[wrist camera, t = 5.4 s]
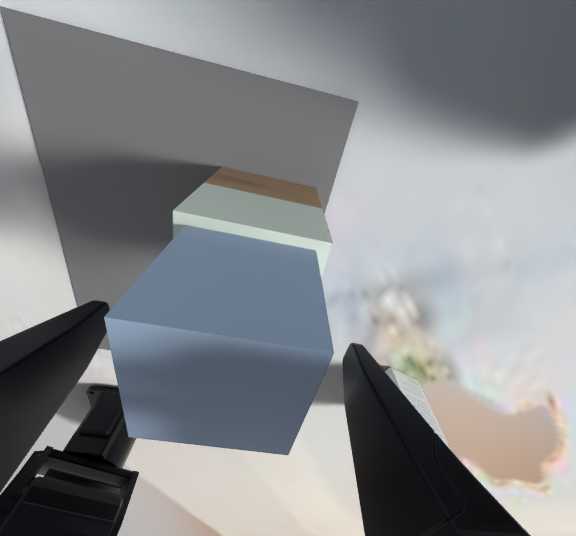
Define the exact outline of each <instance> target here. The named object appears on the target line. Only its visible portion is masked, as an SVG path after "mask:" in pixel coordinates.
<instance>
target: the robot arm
mask: <svg viewBox="0 0 576 536" xmlns="http://www.w3.org/2000/svg"><path fill="white" fill-rule="evenodd" d="M109 311H110V309H109V304H108V303H107V302H103V301H97V300H93V301H90V302H88V303H86V304H83V305H81V306H79V307H77V308H74V309H72V310H70V311H68V312H65V313H63V314H61V315H58V316H56V317H54V318H52V319H49V320H47V321H45V322H43V323H40V324H38V325H36V326H34V327H31V328H29V329H27V330H25V331H22V332H20V333H18V334H15V335H13V336H11V337H9V338H6V339H4V340H2V341H0V492H1V491H2V489H3V488H4V486H5V485H6V484H7V482H8V481H9V479H10V478H11V476H12V475H13V473H14V472H15V471H16V469H17V468H18V466H19V465H20V463H21V462H22V461H23V459H24V458H25V456H26V455H27V453H28V452H29V451H30V449H31V448H32V446H33V445H34V443H35V442H36V441H37V439H38V438H39V436H40V435H41V433H42V432H43V431H44V429H45V428H46V426H47V425H48V423H49V422H50V420H51V419H52V418H53V416H54V415H55V413H56V412H57V411H58V409H59V408H60V406H61V405H62V403H63V402H64V401H65V399H66V398H67V396H68V395H69V393H70V392H71V390H72V389H73V388H74V386H75V385H76V383H77V382H78V380H79V379H80V378H81V376H82V375H83V373H84V372H85V370H86V369H87V367H88V365H89V364H90V362H91V360H92V358H93V357H94V355H95V353H96V351H97V349H98V348H99V346H100V344H101V342H102V340H103V338H104V337H105V335H106V333H107V329H106V324H105V319H104V317H105V315H106V314H107V313H108V312H109ZM343 383H344V402H345V411H346V417H347V423H348V430H349V436H350V443H351V449H352V455H353V462H354V468H355V475H356V481H357V487H358V494H359V500H360V506H361V513H362V519H363V526H364V532H365V536H531V535H529V534H528V532H527V531H526V530H525V529H524V528H523V527H522V526H521V525H520V524H519V523H518V522H517V521H516V520H515V519H514V518H513V517H512V516H511V515H510V514H509V513H508V512H507V511H506V510H505V508H504V507H503V506H502V505H501V504H500V503H499V502H498V501H497V500H496V499H495V498H494V497H493V496H492V495H491V494H490V493H489V492H488V490H487V489H486V488H485V487H484V486H483V485H482V484H481V483H480V482H479V481H478V480H477V479H476V478H475V477H474V475H473V474H472V473H471V472H470V471H469V470H468V469H467V468H466V467H465V466H464V465H463V464H462V462H461V461H460V460H459V459H458V458H457V457H456V456H455V454H454V453H453V452H452V451H451V450H450V449H449V447H448V446H447V445H446V444H445V443H444V442H443V440H442V439H441V438H440V437H439V436H438V434H437V433H435V432H434V430H433V429H432V427H431V426H430V425H429V424H428V423H427V421H426V420H425V419H424V418H423V417H422V415H421V414H420V413H419V412H418V411H417V409H416V408H415V407H414V406H413V405H412V403H411V402H410V401H409V400H408V399H407V397H406V396H405V395H404V394H403V393H402V391H401V390H400V389H399V388H398V387H397V385H396V384H395V383H394V382H393V381H392V379H391V378H390V377H389V376H388V375H387V373H386V372H385V371H384V370H383V369H382V367H381V366H380V365H379V364H378V363H377V362H376V360H375V359H374V358H373V357H372V356H371V354H370V353H369V352H368V351H367V350H366V348H365V347H364V346H363V345H361V344H356V343H351V344H350V345H349V347H348V349H347V351H346V353H345V355H344V357H343ZM87 394H88V398H89V401H90V404H91V407H92V408H91V409H90V411H89V412H88V414H87V415H86V417H85V418H84V420H83V421H82V423H81V424H80V426H79V427H78V429H77V430H76V432H75V433H74V435H73V436H72V438H71V439H70V441H69V442H68V444H67V445H66V447H65V449H64V450H63V451H59V450H56V449H53V447H49V446H47V447H46V448H45V450H44V451H34V453H33V454H32V455H31V457H30V458H29V459H28V461H27V462H26V463H25V465H24V466H23V467H22V469H21V470H20V471H19V473H18V474H17V475H16V477H15V478H14V479H13V480H12V481H11V483H10V484H9V485H8V486H7V488H6V489H5V490H4V491H3V493H2V494H1V495H0V536H117V534H118V532H119V529H120V527H121V524H122V521H123V519H124V516H125V513H126V510H127V507H128V504H129V501H130V498H131V495H132V492H133V489H134V486H135V483H136V480H137V477H138V474H139V472H137V471H129V470H126V469H122V468H123V466H124V464H125V462H126V459H127V457H128V455H129V453H130V451H131V449H132V447H133V444H134V442H135V440H136V438H133V437H129V436H128V431H127V426H126V422H125V417H124V412H123V407H122V402H121V397H120V392H119V390H116V389H108V388H101V387H93V386H91V387H89V389H88V390H87ZM37 474H41V475H44V477H37V478H36V477H35V476H36V475H37Z"/></svg>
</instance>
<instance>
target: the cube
mask: <svg viewBox="0 0 576 536" xmlns="http://www.w3.org/2000/svg"><path fill="white" fill-rule="evenodd" d="M104 319H105V324H106V329H107V334H108V339H109V344H110V348H111V353H112V358H113V363H114V368H115V373H116V378H117V383H118V387H119V392H120V397H121V402H122V407H123V412H124V417H125V422H126V426H127V431H128V436H129V437H133V438H142V439H151V440H159V441H168V442H177V443H186V444H194V445H203V446H212V447H221V448H230V449H238V450H247V451H256V452H265V453H273V454H282V455H288V454H289V452H290V450H291V448H292V445H293V443H294V441H295V439H296V437H297V434H298V432H299V430H300V428H301V425H302V423H303V421H304V419H305V416H306V414H307V412H308V410H309V408H310V405H311V403H312V401H313V399H314V396H315V394H316V392H317V390H318V387H319V385H320V383H321V381H322V379H323V376H324V374H325V372H326V370H327V367H328V365H329V363H330V361H331V359H332V356H333V354H334V351H333V345H332V339H331V333H330V327H329V322H328V316H327V310H326V304H325V298H324V293H323V287H322V281H321V275H320V269H319V264H318V258H317V252H316V250H311V249H306V248H301V247H296V246H291V245H286V244H281V243H276V242H271V241H266V240H260V239H255V238H250V237H245V236H240V235H235V234H230V233H225V232H220V231H215V230H209V229H204V228H199V227H194V226H189V225H185V226H184V227H183V228H182V230H181V231H180V232H179V233H178V234H177V235H176V236H175V237H174V239H173V240H172V241H171V242H170V243H169V244H168V245H167V246H166V248H165V249H164V250H163V251H162V252H161V253H160V254H159V256H158V257H157V258H156V259H155V260H154V261H153V262H152V263H151V265H150V266H149V267H148V268H147V269H146V270H145V271H144V273H143V274H142V275H141V276H140V277H139V278H138V279H137V280H136V282H135V283H134V284H133V285H132V286H131V287H130V288H129V289H128V291H127V292H126V293H125V294H124V295H123V296H122V297H121V299H120V300H119V301H118V302H117V303H116V304H115V305H114V306H113V308H112V309H111V310H110V311H109V312H108V313H107V314H106V315H105V317H104Z"/></svg>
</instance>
